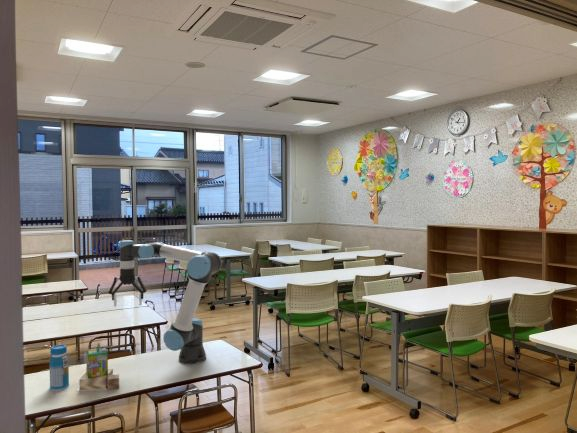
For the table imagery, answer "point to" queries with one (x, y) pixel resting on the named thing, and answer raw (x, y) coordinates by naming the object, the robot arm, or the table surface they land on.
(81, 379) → the base block
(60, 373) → the beverage bottle
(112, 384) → the walnut cube
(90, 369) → the green juice carton
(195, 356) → the robot arm
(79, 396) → the table surface
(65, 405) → the table surface
